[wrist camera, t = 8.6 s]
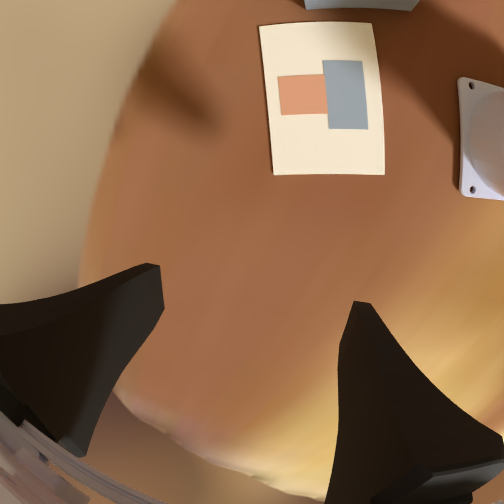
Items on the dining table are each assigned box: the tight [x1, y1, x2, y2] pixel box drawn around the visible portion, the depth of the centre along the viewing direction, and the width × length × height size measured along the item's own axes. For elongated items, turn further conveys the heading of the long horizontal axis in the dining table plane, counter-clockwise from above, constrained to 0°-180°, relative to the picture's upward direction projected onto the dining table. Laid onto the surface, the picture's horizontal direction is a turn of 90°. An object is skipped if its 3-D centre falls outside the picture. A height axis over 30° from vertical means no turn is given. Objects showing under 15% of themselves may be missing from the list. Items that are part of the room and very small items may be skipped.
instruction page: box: [259, 22, 385, 175], centre depth 15 cm, size 7×10×1 cm
